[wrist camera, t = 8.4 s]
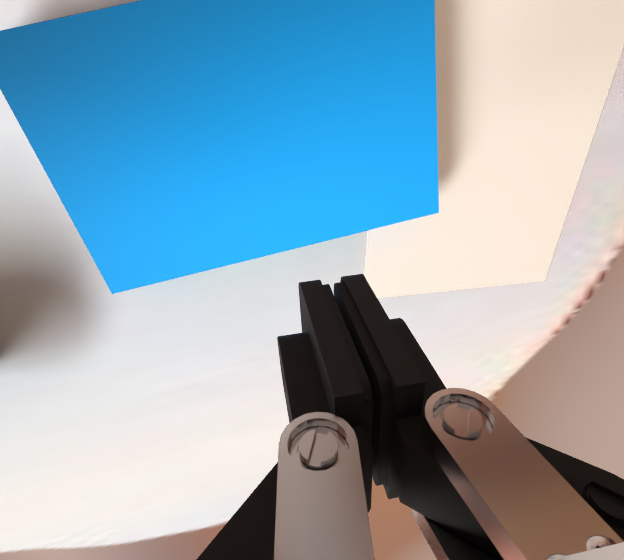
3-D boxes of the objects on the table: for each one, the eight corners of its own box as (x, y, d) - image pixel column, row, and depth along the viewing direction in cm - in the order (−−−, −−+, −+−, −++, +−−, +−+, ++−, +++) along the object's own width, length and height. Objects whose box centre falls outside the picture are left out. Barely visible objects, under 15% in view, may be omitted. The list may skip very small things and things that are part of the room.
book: (-33, 37, 21) (435, -71, 22) (6, 36, 25) (407, -58, 26) (116, 303, 30) (443, 219, 31) (129, 273, 34) (421, 199, 35)
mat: (397, -164, 23) (398, -165, 23) (685, -143, 26) (688, -144, 26) (362, 298, 39) (363, 299, 39) (543, 279, 42) (544, 280, 42)
